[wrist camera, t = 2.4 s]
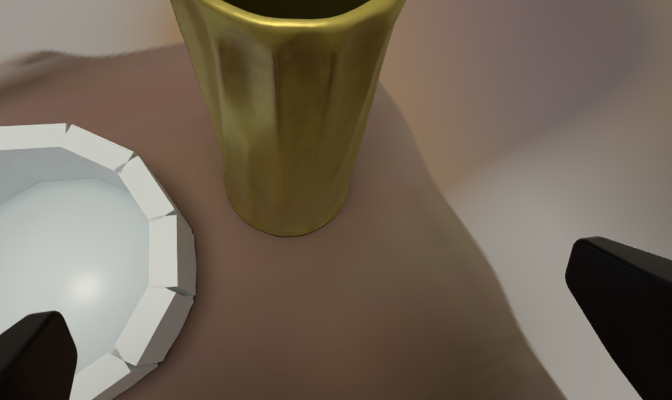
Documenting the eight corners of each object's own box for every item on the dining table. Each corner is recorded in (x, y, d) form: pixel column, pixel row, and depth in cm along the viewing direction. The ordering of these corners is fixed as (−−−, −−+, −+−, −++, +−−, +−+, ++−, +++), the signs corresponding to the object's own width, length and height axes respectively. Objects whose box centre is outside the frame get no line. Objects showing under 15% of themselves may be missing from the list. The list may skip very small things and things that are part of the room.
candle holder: (200, 396, 18) (179, 410, 15) (-95, 437, 17) (-200, 464, 13) (193, 155, 22) (174, 117, 18) (-55, 171, 20) (-132, 133, 16)
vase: (223, 239, 21) (108, 47, 7) (226, 121, 22) (139, -209, 9) (351, 235, 21) (469, 57, 8) (344, 122, 23) (430, -181, 10)
